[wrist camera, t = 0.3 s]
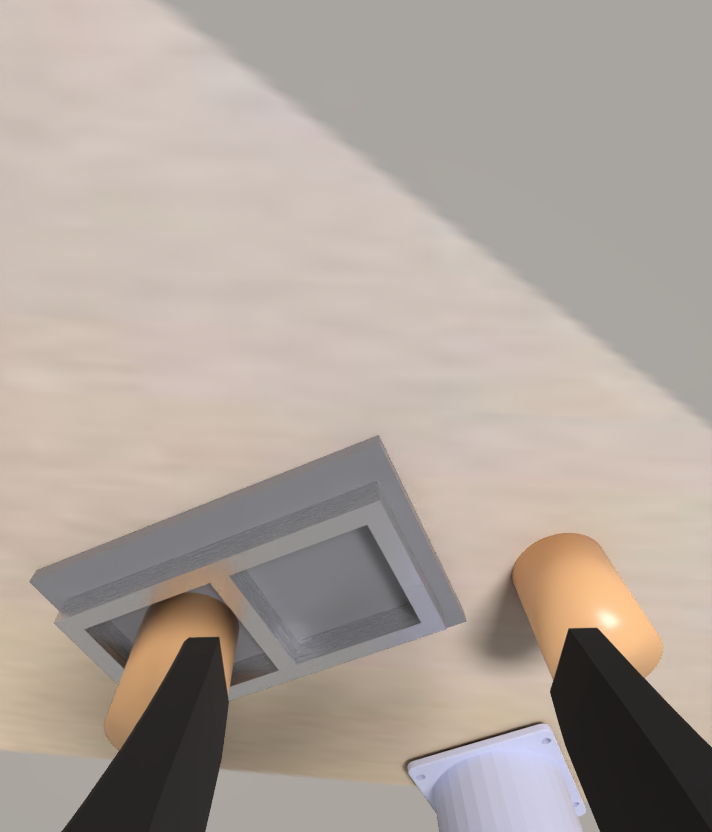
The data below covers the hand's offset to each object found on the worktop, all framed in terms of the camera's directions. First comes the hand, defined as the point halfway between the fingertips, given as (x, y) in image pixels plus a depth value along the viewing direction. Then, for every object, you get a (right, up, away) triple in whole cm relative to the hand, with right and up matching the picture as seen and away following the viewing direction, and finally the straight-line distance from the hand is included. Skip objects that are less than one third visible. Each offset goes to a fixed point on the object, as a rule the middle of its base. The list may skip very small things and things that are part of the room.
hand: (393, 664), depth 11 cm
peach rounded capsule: (+8, -1, +12) cm, 14 cm away
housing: (-5, -2, +12) cm, 13 cm away
